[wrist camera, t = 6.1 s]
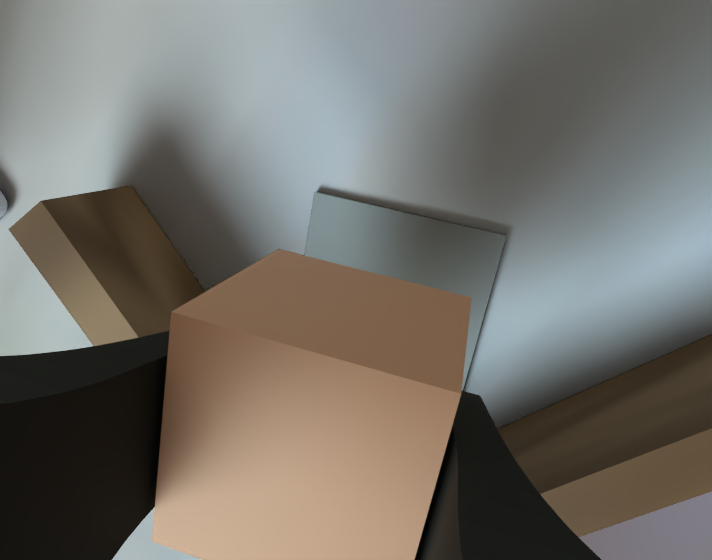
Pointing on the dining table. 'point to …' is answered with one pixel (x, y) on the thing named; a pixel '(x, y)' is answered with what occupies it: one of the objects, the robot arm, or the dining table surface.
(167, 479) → the cube
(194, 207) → the dining table surface
